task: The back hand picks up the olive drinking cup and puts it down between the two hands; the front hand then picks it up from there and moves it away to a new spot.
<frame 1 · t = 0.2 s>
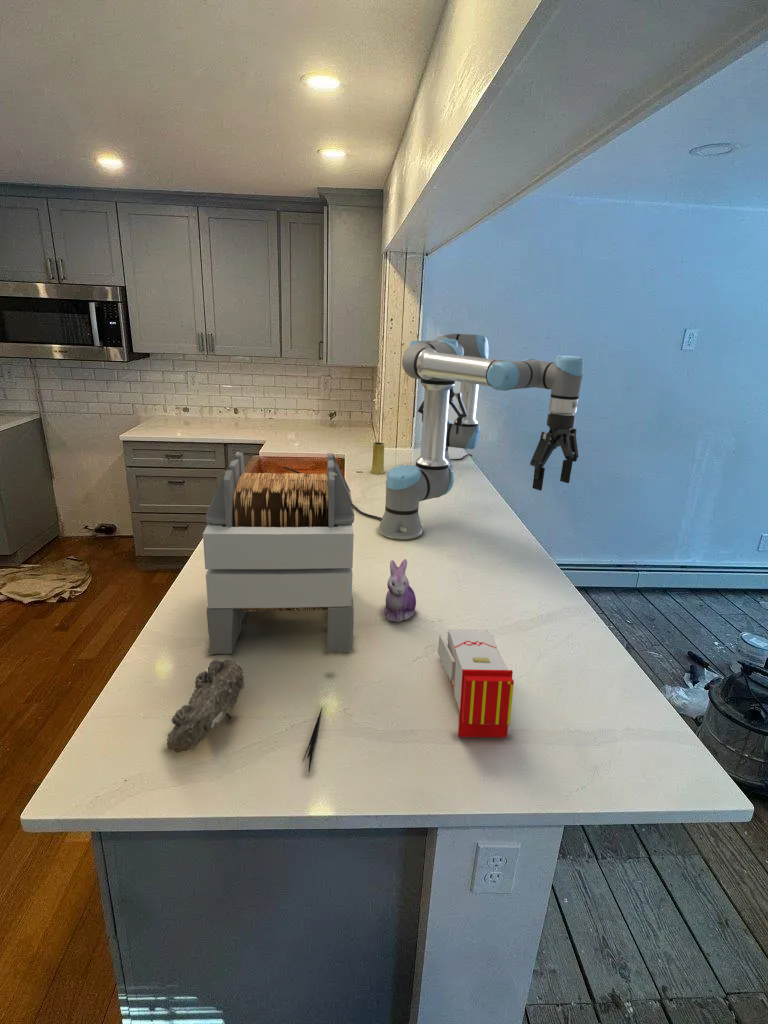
front hand: (551, 485, 166), 28 cm above the counter, tool pointing down, fingers open, 13 cm apart
back hand: (441, 431, 233), 28 cm above the counter, tool pointing down, fingers open, 13 cm apart
fossil: (212, 717, 108), on the counter
olive drinking cup: (377, 472, 273), on the counter
toy: (469, 691, 119), on the counter
feather: (319, 719, 109), on the counter
figurine: (399, 614, 147), on the counter
record storage crate: (285, 616, 144), on the counter
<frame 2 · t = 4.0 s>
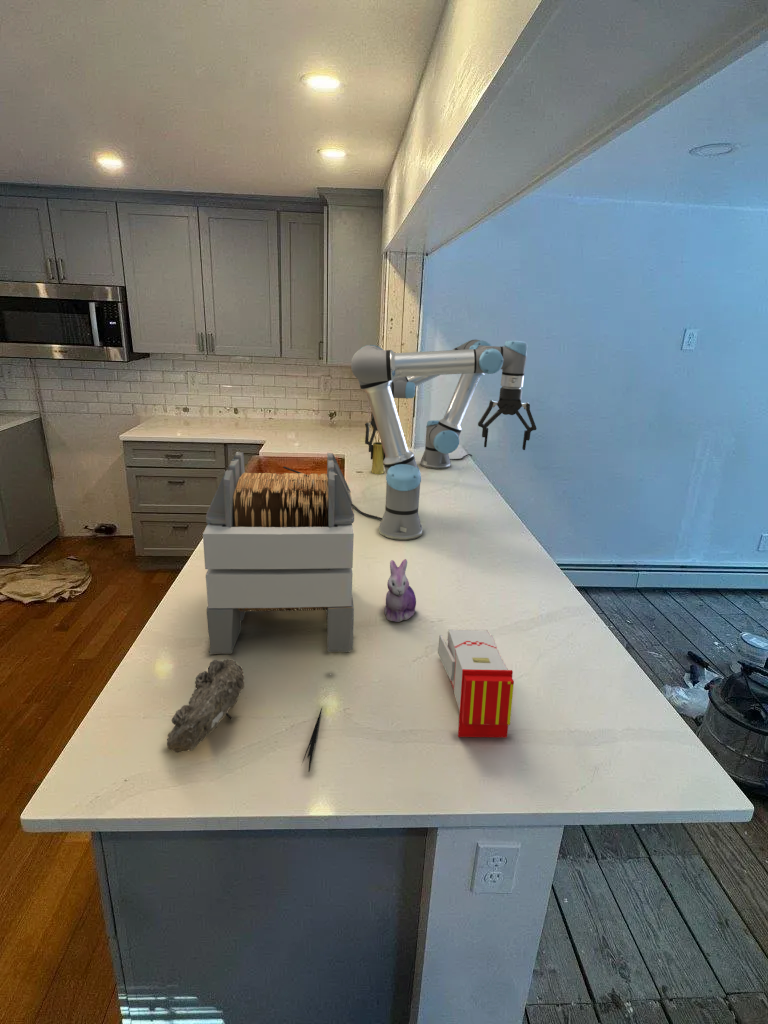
front hand: (504, 447, 203), 30 cm above the counter, tool pointing down, fingers open, 13 cm apart
back hand: (378, 459, 271), 7 cm above the counter, tool pointing down, fingers closed on olive drinking cup, 5 cm apart
olive drinking cup: (377, 472, 273), on the counter, touching back hand
everything else where it was.
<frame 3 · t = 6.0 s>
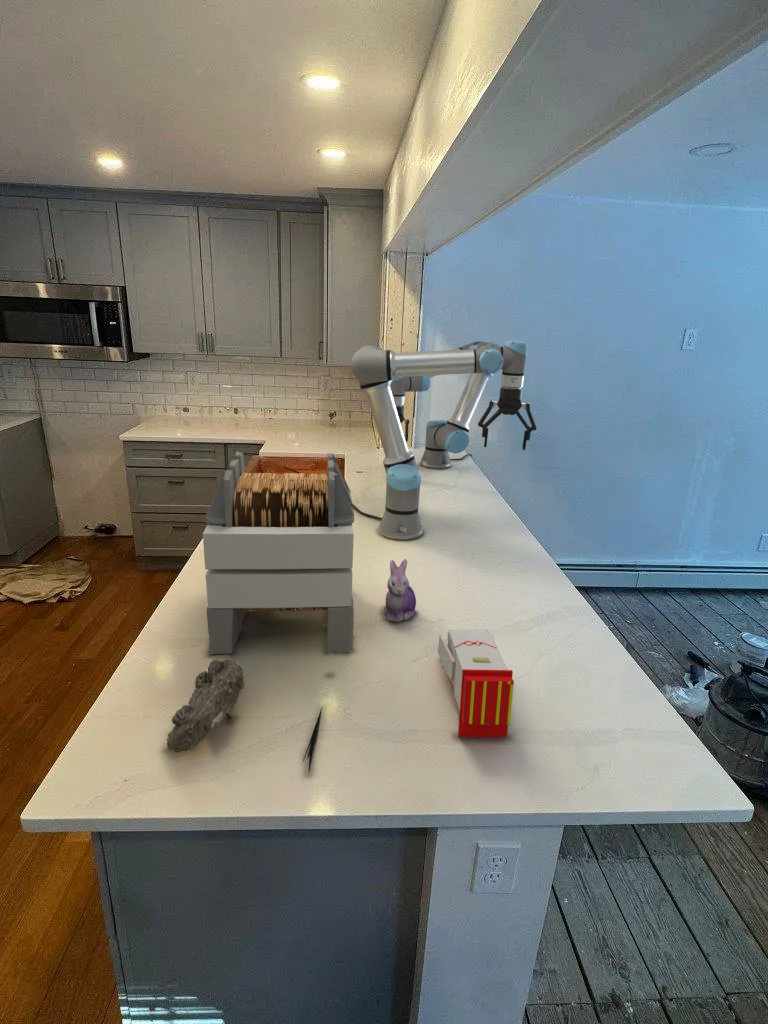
front hand: (504, 447, 203), 30 cm above the counter, tool pointing down, fingers open, 13 cm apart
back hand: (393, 455, 263), 11 cm above the counter, tool pointing down, fingers closed on olive drinking cup, 5 cm apart
olive drinking cup: (392, 469, 265), point 4 cm above the counter, touching back hand
everything else where it was.
when the back hand's fingers open (8 cm above the counter, at t = 8.1 s): olive drinking cup drops 2 cm, on the counter.
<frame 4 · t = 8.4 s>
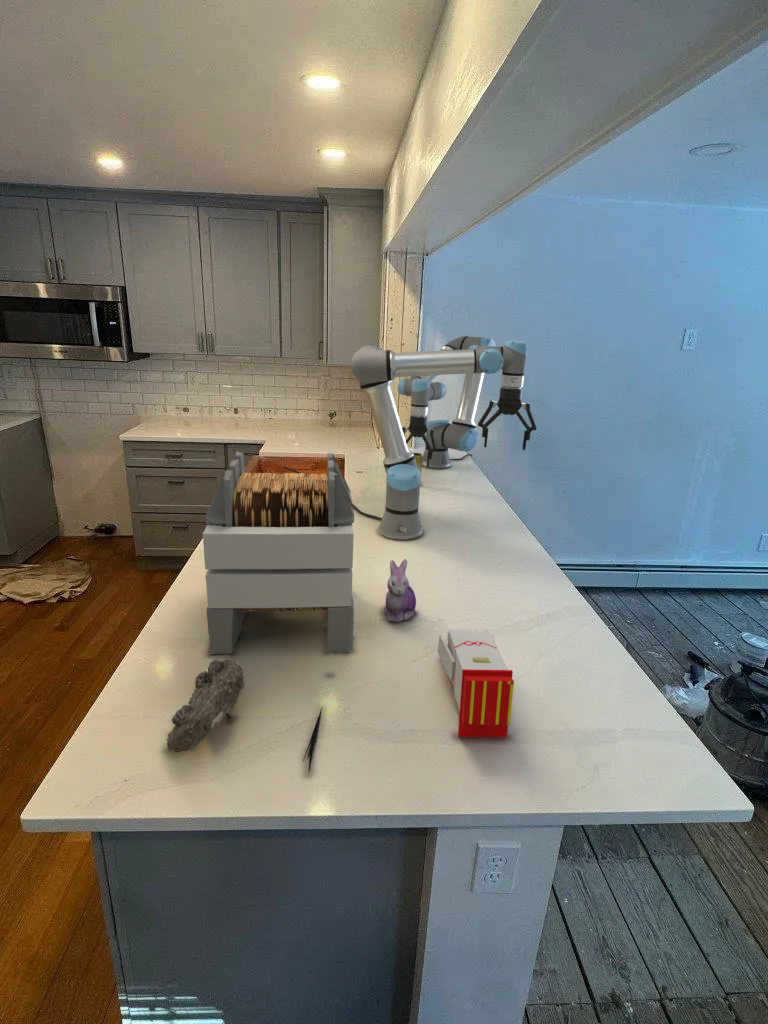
front hand: (504, 447, 203), 30 cm above the counter, tool pointing down, fingers open, 13 cm apart
back hand: (415, 465, 253), 9 cm above the counter, tool pointing down, fingers open, 10 cm apart
olive drinking cup: (414, 484, 256), on the counter
everything else where it was.
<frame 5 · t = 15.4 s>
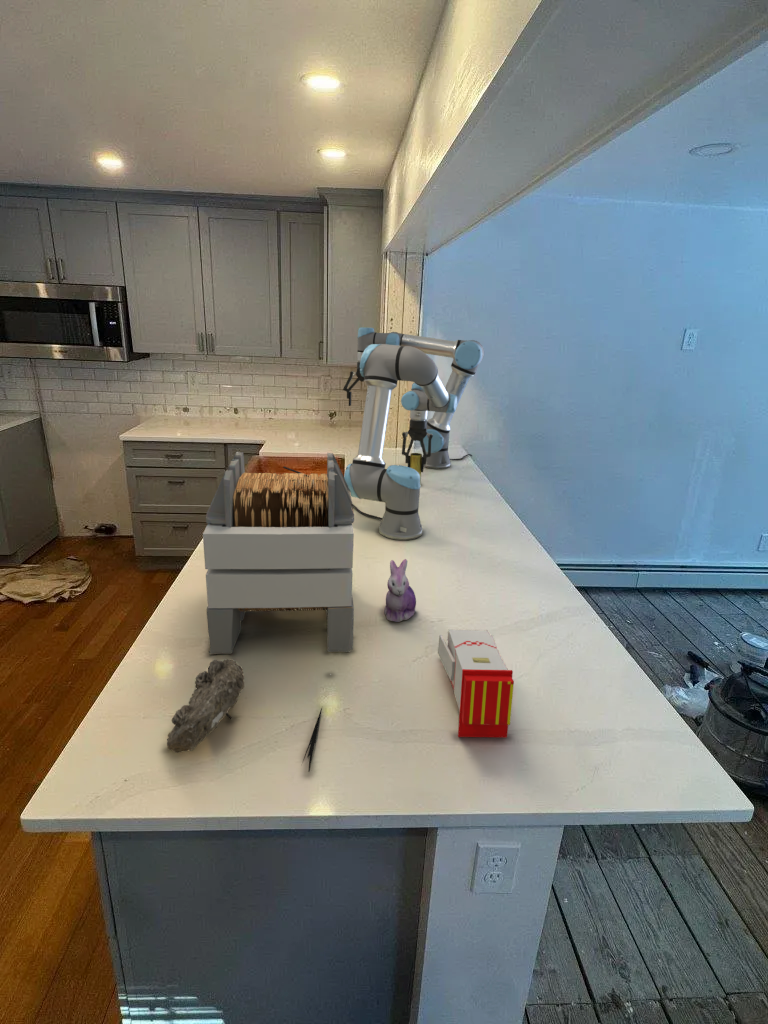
front hand: (415, 470, 254), 7 cm above the counter, tool pointing down, fingers closed on olive drinking cup, 5 cm apart
back hand: (363, 406, 276), 29 cm above the counter, tool pointing down, fingers open, 13 cm apart
olive drinking cup: (414, 484, 256), on the counter, touching front hand
everything else where it was.
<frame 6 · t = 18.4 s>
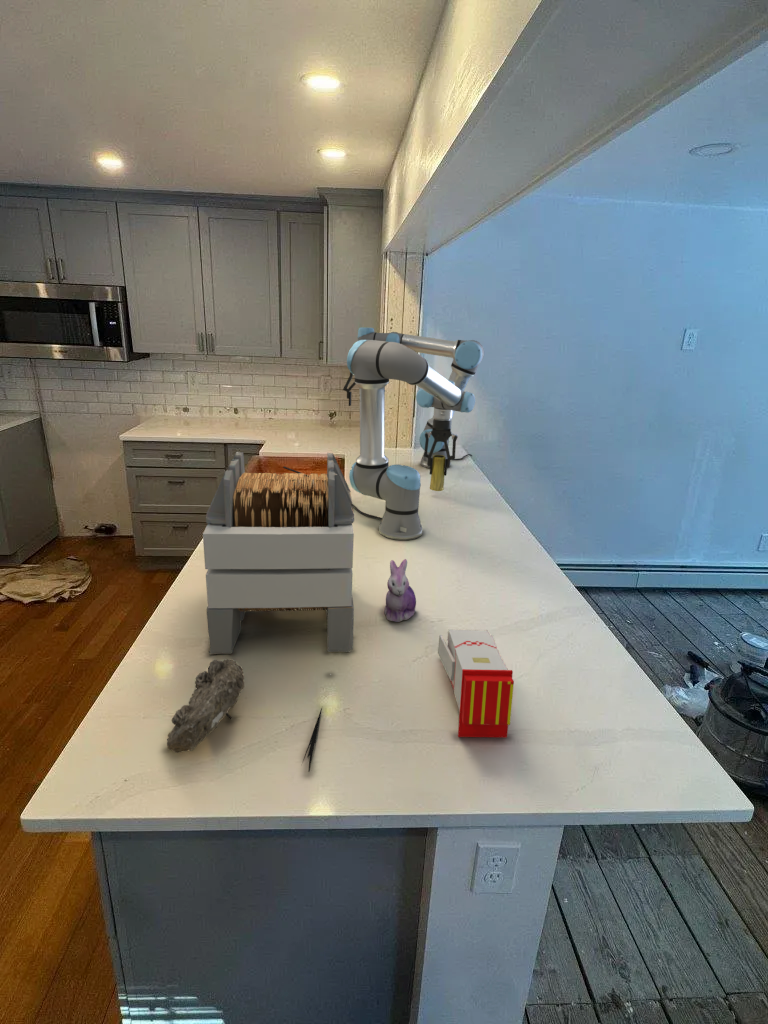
front hand: (437, 474, 238), 10 cm above the counter, tool pointing down, fingers closed on olive drinking cup, 5 cm apart
back hand: (363, 406, 276), 29 cm above the counter, tool pointing down, fingers open, 13 cm apart
olive drinking cup: (436, 489, 240), point 4 cm above the counter, touching front hand
everything else where it was.
when the front hand's fingers open (8 cm above the counter, at t = 21.6 s): olive drinking cup drops 2 cm, on the counter.
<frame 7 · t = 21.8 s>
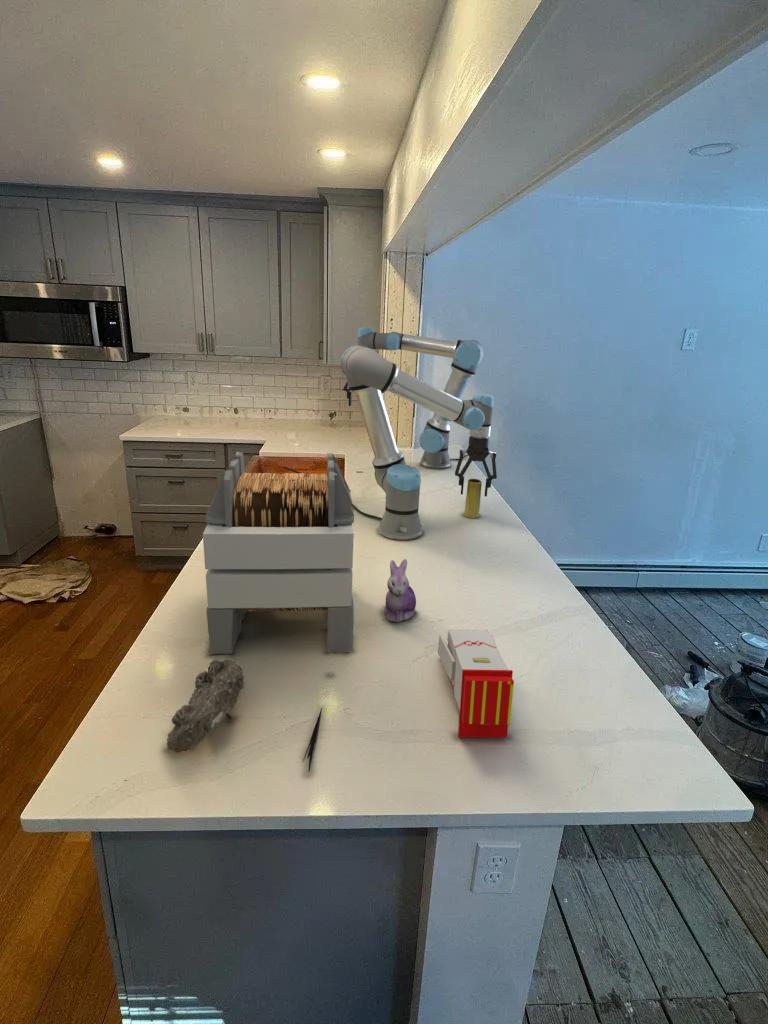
front hand: (473, 494, 218), 9 cm above the counter, tool pointing down, fingers open, 8 cm apart
back hand: (363, 406, 276), 29 cm above the counter, tool pointing down, fingers open, 13 cm apart
olive drinking cup: (471, 515, 221), on the counter
everything else where it was.
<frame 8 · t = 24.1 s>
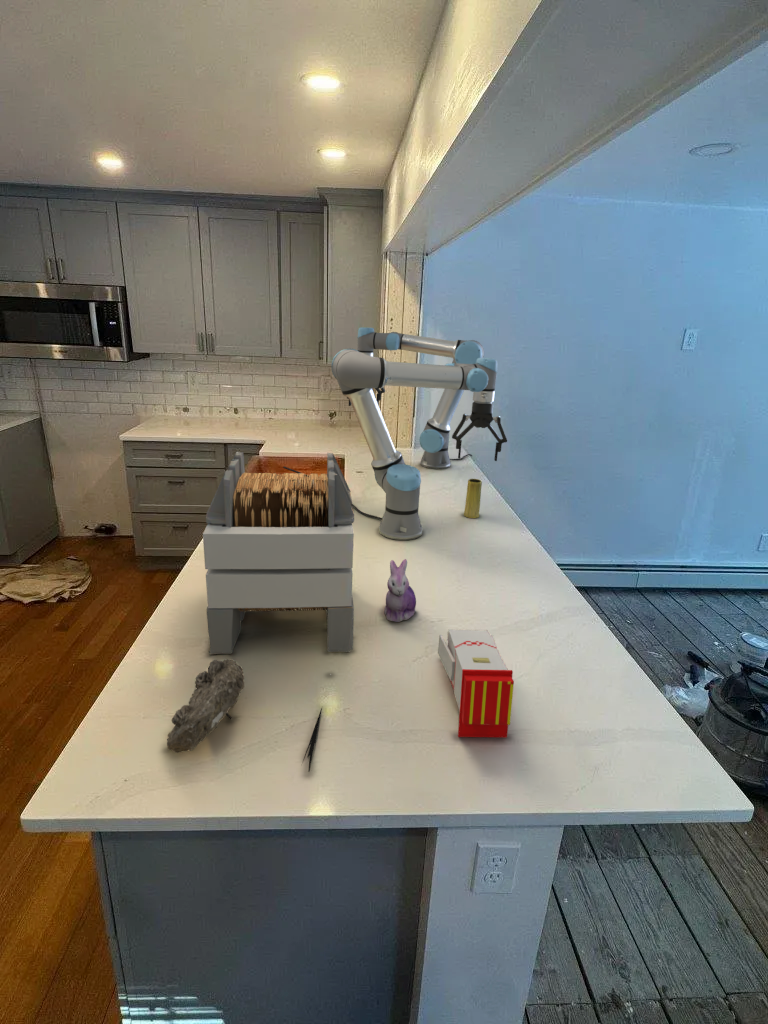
front hand: (477, 458, 213), 23 cm above the counter, tool pointing down, fingers open, 13 cm apart
back hand: (363, 406, 276), 29 cm above the counter, tool pointing down, fingers open, 13 cm apart
nothing on the counter moved.
at the end: olive drinking cup inside the target area (0.0 cm from its centre), on the counter; olive drinking cup tilted 0°; the two hands never held the olive drinking cup at the same time; the front hand is holding nothing; the back hand is holding nothing; olive drinking cup at rest at the end (0.0 cm/s) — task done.
